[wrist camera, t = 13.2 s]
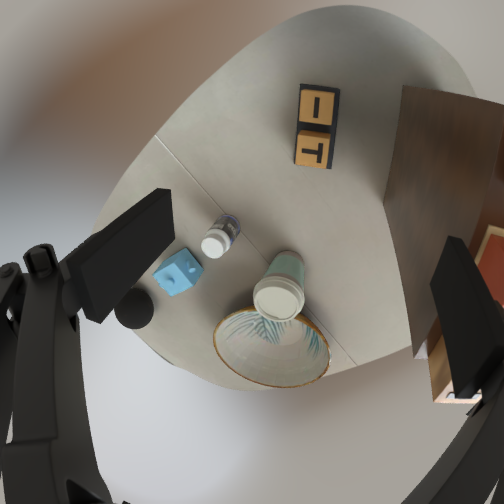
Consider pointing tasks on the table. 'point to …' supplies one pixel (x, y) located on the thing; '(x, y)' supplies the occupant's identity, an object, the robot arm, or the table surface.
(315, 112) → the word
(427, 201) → the word stand
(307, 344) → the bowl
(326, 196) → the table surface
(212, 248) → the pill bottle
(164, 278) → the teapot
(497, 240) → the block
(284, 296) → the coffee cup
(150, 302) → the black ball
